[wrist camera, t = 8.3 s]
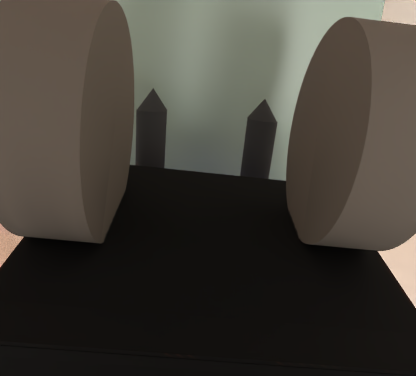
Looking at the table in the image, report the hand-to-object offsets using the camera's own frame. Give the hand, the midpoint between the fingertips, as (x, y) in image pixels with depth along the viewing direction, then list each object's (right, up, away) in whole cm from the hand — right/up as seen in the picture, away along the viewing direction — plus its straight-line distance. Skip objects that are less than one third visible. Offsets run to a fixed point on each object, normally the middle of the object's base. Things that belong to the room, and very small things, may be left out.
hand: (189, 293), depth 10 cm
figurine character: (0, +1, +1) cm, 2 cm away
